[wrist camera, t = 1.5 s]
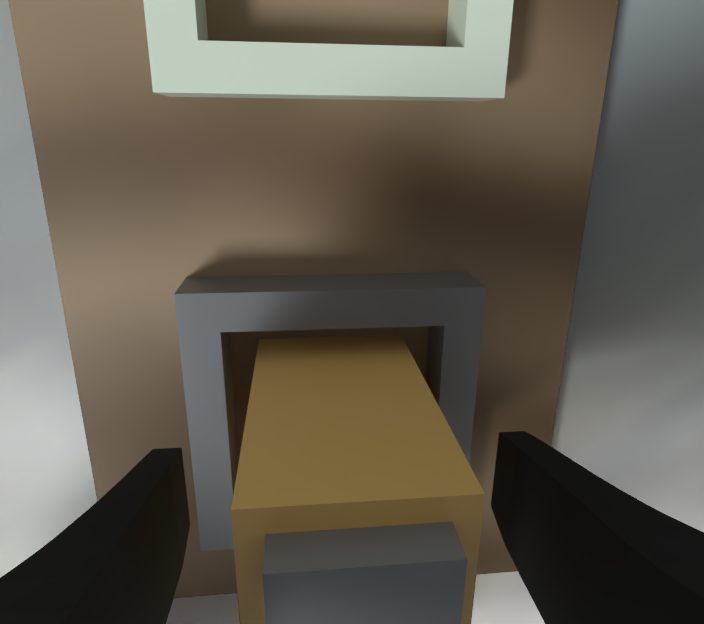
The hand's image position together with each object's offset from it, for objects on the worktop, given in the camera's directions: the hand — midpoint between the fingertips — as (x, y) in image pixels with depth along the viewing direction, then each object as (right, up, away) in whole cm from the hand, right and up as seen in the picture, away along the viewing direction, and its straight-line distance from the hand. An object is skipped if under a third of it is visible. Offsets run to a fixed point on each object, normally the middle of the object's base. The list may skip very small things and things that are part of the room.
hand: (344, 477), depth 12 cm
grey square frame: (-1, +1, +4) cm, 5 cm away
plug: (0, +1, +3) cm, 4 cm away
